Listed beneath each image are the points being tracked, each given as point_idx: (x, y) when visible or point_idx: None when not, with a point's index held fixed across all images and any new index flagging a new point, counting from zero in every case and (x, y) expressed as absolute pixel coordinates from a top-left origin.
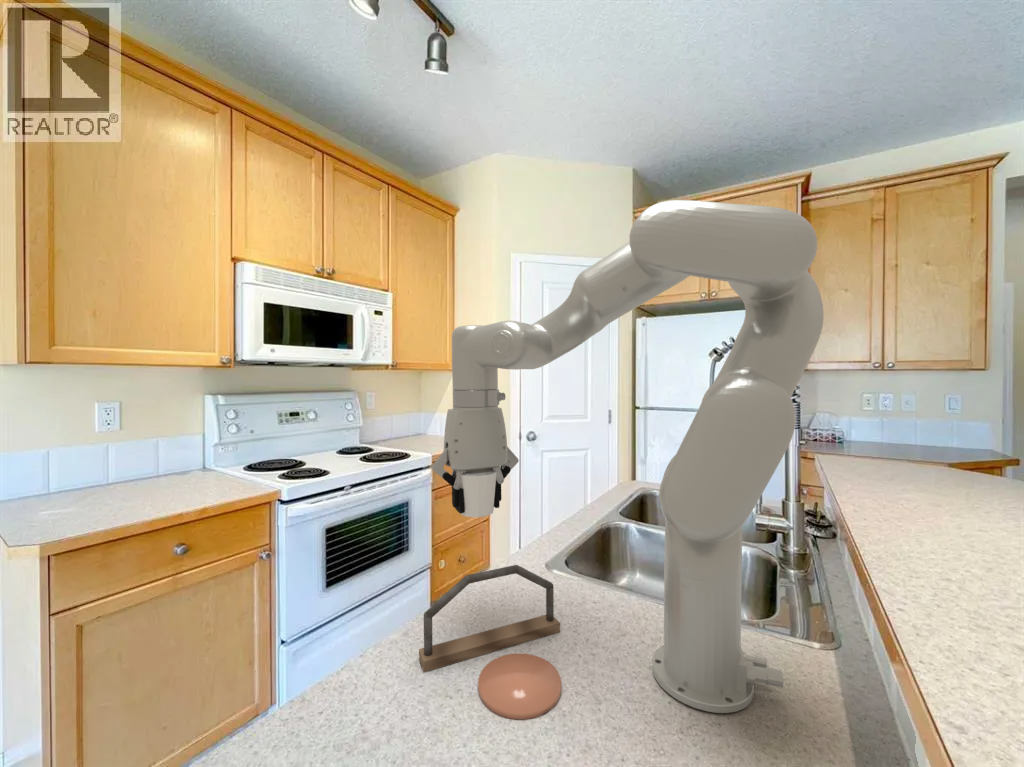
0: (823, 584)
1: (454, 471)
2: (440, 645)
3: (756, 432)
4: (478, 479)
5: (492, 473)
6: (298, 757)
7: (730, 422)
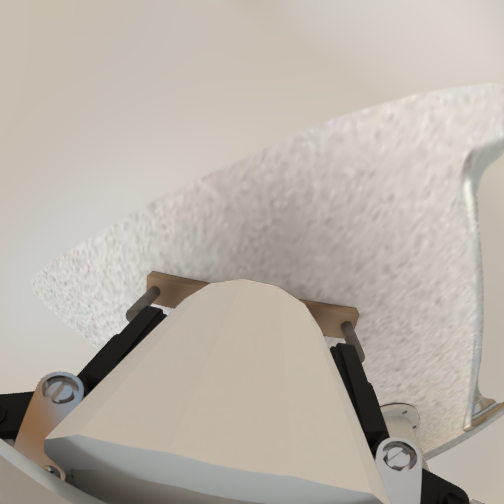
0: None
1: (32, 457)
2: (174, 286)
3: None
4: None
5: None
6: (58, 316)
7: None
